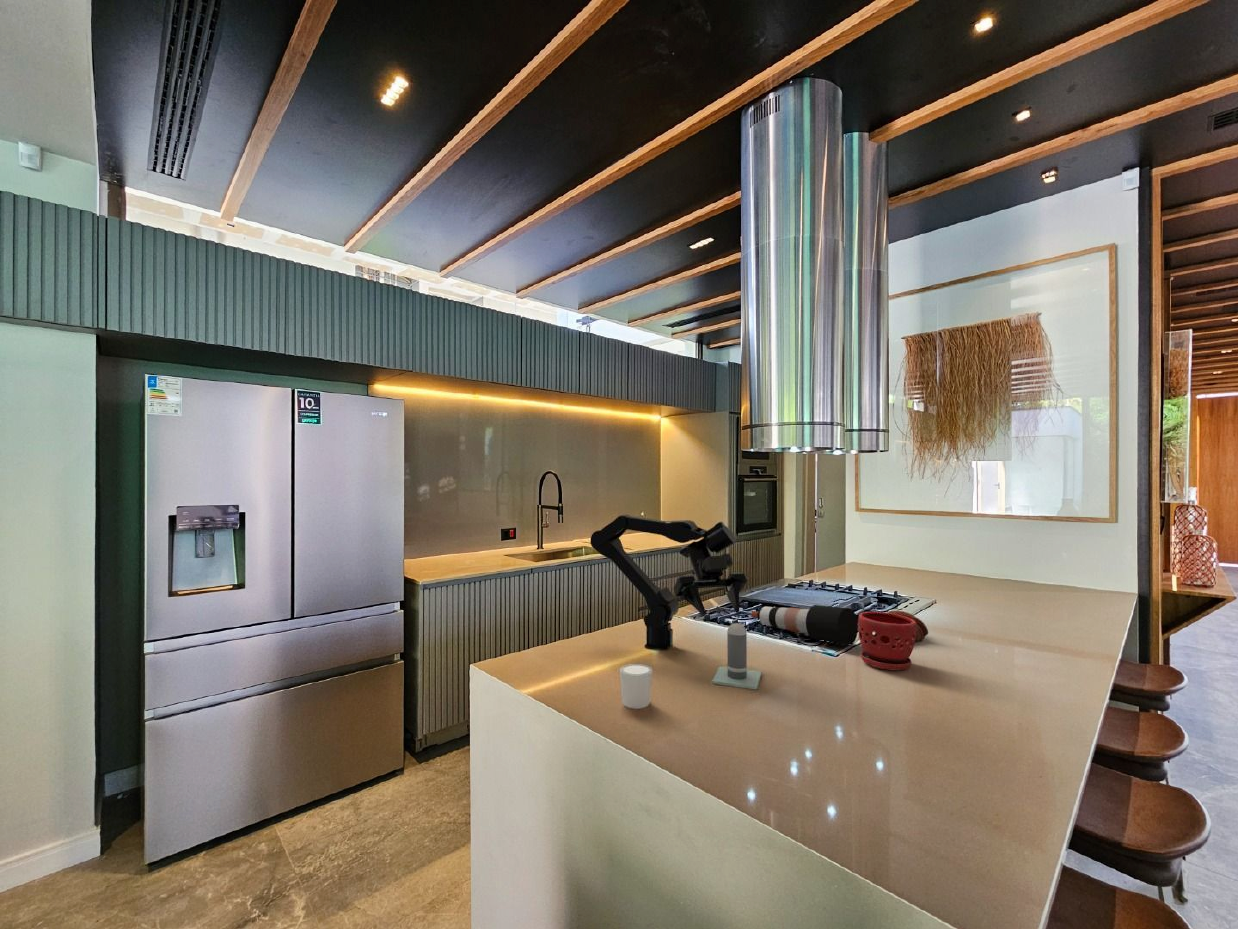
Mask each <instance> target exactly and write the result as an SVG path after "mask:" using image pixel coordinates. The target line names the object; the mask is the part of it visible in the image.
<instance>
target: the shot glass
mask: <svg viewBox="0 0 1238 929" xmlns="http://www.w3.org/2000/svg"><path fill="white" fill-rule="evenodd" d="M619 675H620V677H619V678H620V688H621V689H620V690H621V700H622V701H621V702H622V705H623V706H625V707H626V708H628V709H629V708H630V709H637V710H638V709H639V710H640V709H644V708H646V707H648V706H649V705H650V701H651V700H650V697H651V688H652V678H653V668H652V667H651V666H649V665H646V664H640V663H639V664H638V663H632V664H626V665H623V666H621V667H620V669H619Z"/></svg>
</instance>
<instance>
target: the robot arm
mask: <svg viewBox="0 0 1238 929" xmlns="http://www.w3.org/2000/svg"><path fill="white" fill-rule="evenodd" d="M628 530H629V531H635V532H641V533H646V534H653V535H660V536H663V537H665V538H666V539H668V540H671V541H675V542H676V543H680V544H685V543H688V545H683V546H682V548H681V549H680V551H679V554H680V555H681V556H683V557H684V558H686V559H687V558H688V559H689V561H690V564H691V566H692V570H691V573H692V574H691V575H679V576H678V577H677V579H676V582H675V584H674V585H673V592H674V594H673V593H672V591H671V590H670V589H669V587H668V586H665V587H663V588H660V587H658V586H657V585H656V583H654V582H653V581H652V579H650V577H649V576H648V575H647V574H646V573H645V572H644V571H643V569H642V568H641V567H640V566H639V565H638V564H637V562H635V560H634V559H632V557H631V556H630V555H629V554H628V552H626V551H625V549H624V546H623V544H622V541H621V539H620V538H621V537H622V536H623V535H624V533H626V531H628ZM691 541H692V542H691ZM589 542H590V546H591V547H592V548H593V549H594V550H595V552H598V553H599V554H600V555H601V556H603V557H605V558H606V559H609V560H611V561H612V562H613V564H614V565H615V566H616V567H617V569H619V570H620V572H621V573H622V574H623V575H624V576H625V578H627V579H628V581H630V583H631V584H632V585H633V586H634V588H635V589H636V590H637V591H638V592H639V594H641V596H643V598H644V600H645V604H646V606H647V609H648V610H649V613H647V614H646V615H645V616H644V617H643V619H642V620H643V623H644V627H646V628H645V629H646V630H645V631H646V643H645V644H644V648H646V649H657V650H663V651H667V650H669V648H670V647H671V646H672V645H673V642H674V641H673V640H674V637H673V634H674V633H673V632H674V630H673V628H672V623H671V621H673V617H674V616H675V615H677V613H678V612H679V606H680V604H679V601H677V600H678V599H676V598H680V599H681V600H685V601H686V602H687V603H688V604H689V605H691V606H692V607H693V608H695V610H697V612H699V614H700V615H702V616H706V609H705V606H704V603H703V601H702V598H701V596H700V593H699V589H715V588H718V589H719V588H724V590H725V592H727V593H726V597H727V598H728V601H729V603H730V604H731V607H732V609H733V610H734V612H735V613H736V614H738V613H739V612H740V593H741V591H742V590H743V589H744V587H745V586H746V585H747V583H748V581H749V579H748V578H747V576H746V574H745V573H744V572H730V573H729V575H728V576H727V578H721V577H723V575H724V570H727V569H728V568H730V567H731V566H733V564H734V563H733V558H732V556H731V554H730V553H723V554H721V555H712V554H711V553H714V552H715V553H716V554H720V553H721V552H723V551H725V550H727V549H728V548H730V547H731V546H733V545H735V544H736V543H737V540H736V537H735V535H734V533H733V532H732V530H730V529H729V528H728V527H727V526H726V525H725V524H724V522H723V521H719V522H717V523H716V524H715V525H714V526H712V527H711V528H710V529H708V530H707V529H704V528H701V527H699V526H697V524H696V523H695V521H693V520H689V519H686V520H685V519H684V520H683V519H681V520H667V521H666V520H659V519H653V518H652V519H651V518H647V517H640V516H633V515H629V514H622V515H618V516H617V517H616V518H614V519H613V521H611V522H610V523H609V524H607V525H606V526H604V527H602V529H599V530H595V531H594V532H593V533H592V534H591V535H590V541H589ZM689 542H690V543H689ZM694 575H695V576H694ZM695 578H696V579H695Z"/></svg>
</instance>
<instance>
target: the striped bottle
mask: <svg viewBox="0 0 1238 929" xmlns="http://www.w3.org/2000/svg"><path fill="white" fill-rule="evenodd" d="M750 616H751V618H754V619H759V620H760V621H759V622H760V623H761V625H763V626H764V625H766V626H765V627H770V626H772V627H771V628H775V627H776V629H780V630H785V629H787V631H789V630H790V631H789V632H792V631H796V632H795V633H799V632H802V633H801V634H805V633H806V634H807V635H808V636H809V637H810V638H811V639H812V638H814V639H818V640H824V641H829V642H833V643H832V644H835V643H838V644H837V645H841V644H844V645H843V646H847V645H848V646H850V645H849V644H851V645H853V644H854V643H855V641H856V639H857V637H858V634H859V631H858V617H857V615H856V613H855V612H854V610H853V609H851V608H849V607H840V606H828V605H820V604H819V605H818V604H814V605H812V606H811V607H809V608H800V607H776V606H773V607H772V606H763V607H762V608H761V609H760V611H754V610H752V611H751V613H750Z"/></svg>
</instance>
